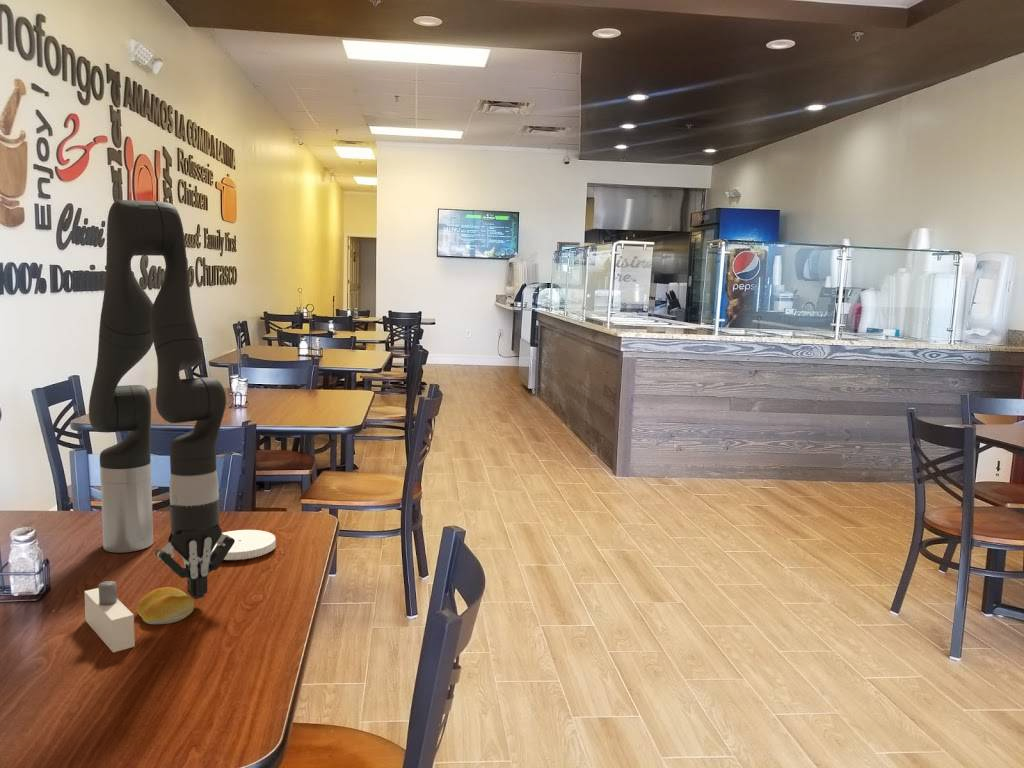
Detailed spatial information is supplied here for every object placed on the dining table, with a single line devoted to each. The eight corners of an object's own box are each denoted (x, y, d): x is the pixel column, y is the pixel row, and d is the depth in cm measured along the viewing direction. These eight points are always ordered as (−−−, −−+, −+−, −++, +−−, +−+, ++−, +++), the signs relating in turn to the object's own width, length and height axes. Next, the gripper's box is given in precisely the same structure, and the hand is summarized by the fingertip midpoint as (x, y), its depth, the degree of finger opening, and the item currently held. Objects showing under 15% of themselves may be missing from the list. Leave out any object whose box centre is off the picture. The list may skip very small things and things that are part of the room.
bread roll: (148, 631, 120) (147, 607, 119) (132, 612, 126) (131, 588, 126) (202, 617, 125) (201, 594, 125) (184, 599, 132) (183, 577, 131)
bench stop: (85, 620, 122) (83, 573, 121) (105, 615, 124) (104, 568, 123) (113, 652, 112) (111, 600, 111) (134, 646, 114) (133, 595, 113)
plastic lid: (273, 538, 165) (273, 527, 164) (277, 560, 152) (277, 548, 151) (204, 544, 160) (203, 532, 159) (202, 568, 147) (201, 555, 146)
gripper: (223, 486, 134) (226, 580, 136) (144, 499, 125) (148, 600, 127) (242, 495, 128) (245, 593, 131) (161, 509, 119) (165, 615, 121)
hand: (197, 597), depth 129 cm, fingers closed
